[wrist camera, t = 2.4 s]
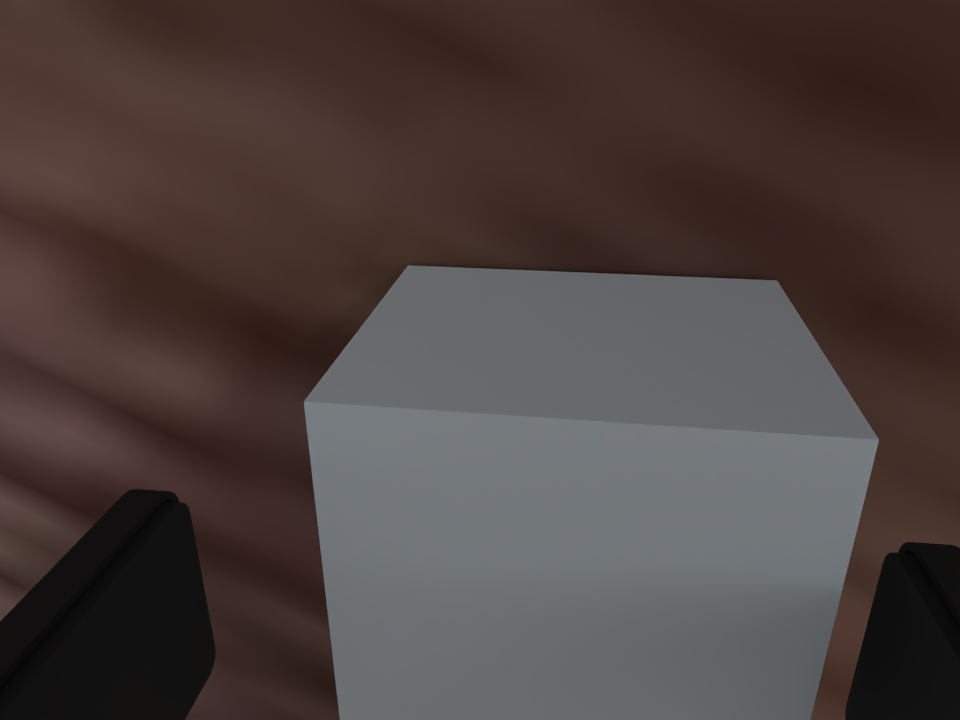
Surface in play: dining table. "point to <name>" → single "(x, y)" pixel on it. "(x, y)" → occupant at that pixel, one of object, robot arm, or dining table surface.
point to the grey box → (583, 499)
